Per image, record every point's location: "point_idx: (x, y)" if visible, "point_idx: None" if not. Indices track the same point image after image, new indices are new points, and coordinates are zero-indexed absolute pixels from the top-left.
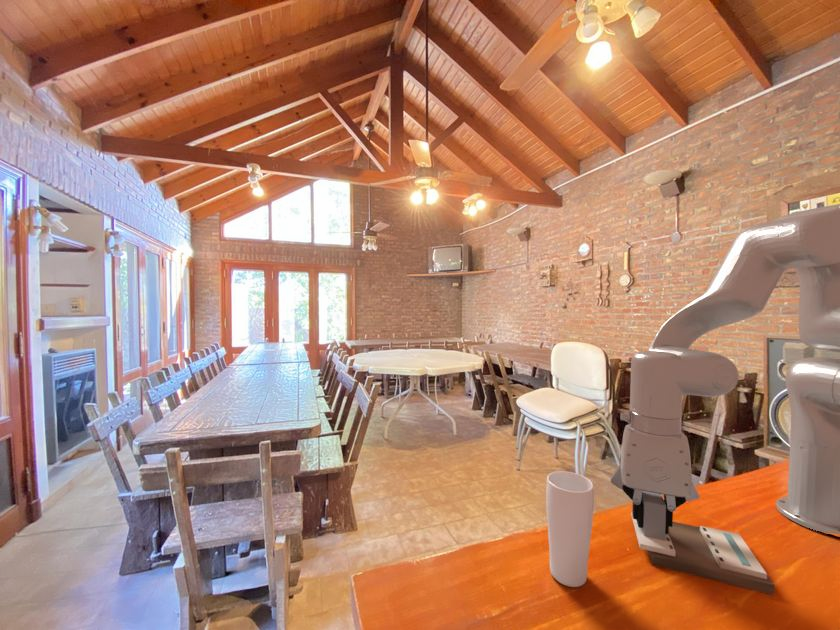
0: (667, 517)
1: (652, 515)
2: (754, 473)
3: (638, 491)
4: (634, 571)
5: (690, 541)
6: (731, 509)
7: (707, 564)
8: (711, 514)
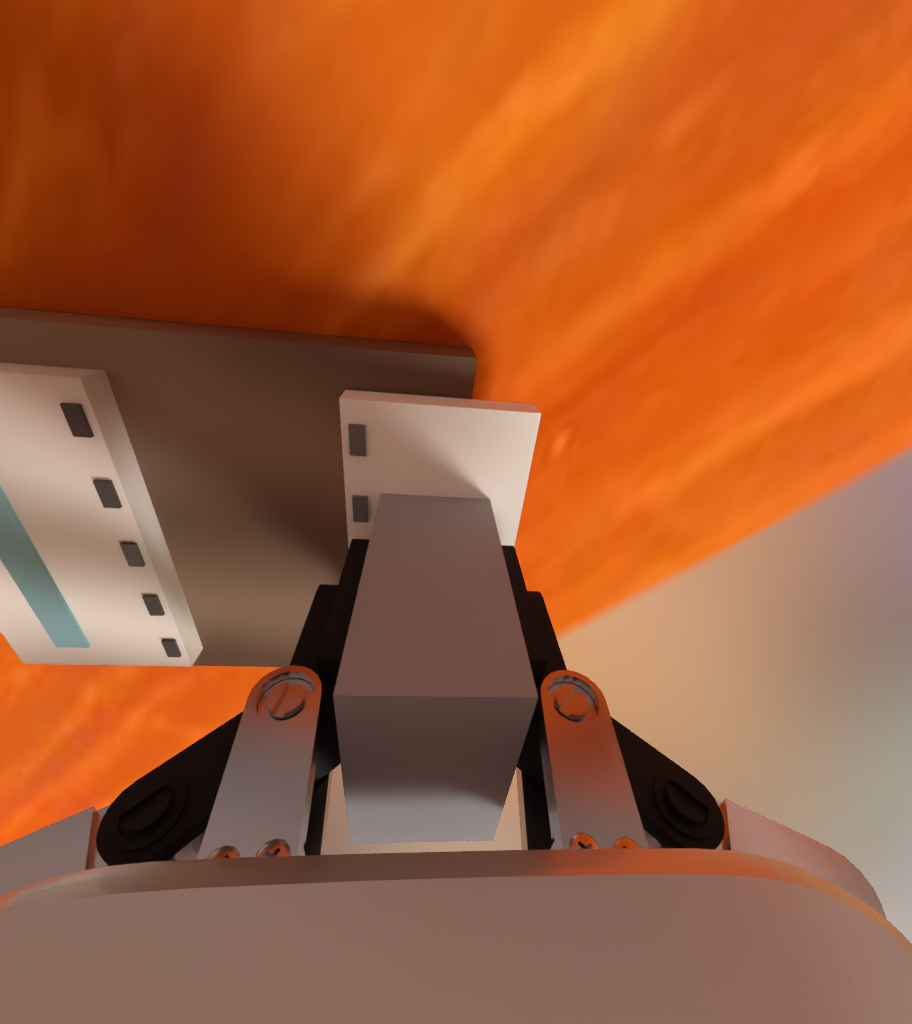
0: (339, 614)
1: (456, 595)
2: None
3: (594, 812)
4: (595, 240)
5: (249, 557)
6: (109, 785)
7: (173, 380)
8: (172, 749)
